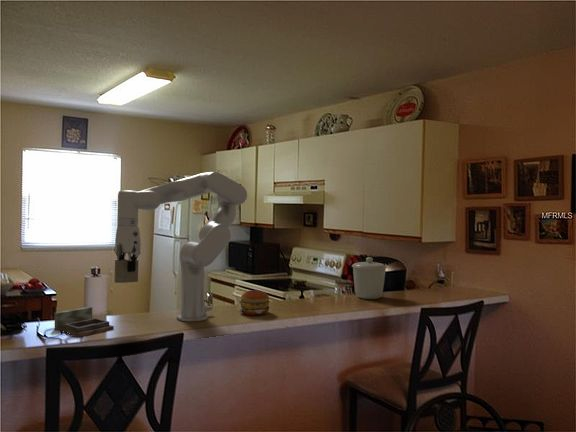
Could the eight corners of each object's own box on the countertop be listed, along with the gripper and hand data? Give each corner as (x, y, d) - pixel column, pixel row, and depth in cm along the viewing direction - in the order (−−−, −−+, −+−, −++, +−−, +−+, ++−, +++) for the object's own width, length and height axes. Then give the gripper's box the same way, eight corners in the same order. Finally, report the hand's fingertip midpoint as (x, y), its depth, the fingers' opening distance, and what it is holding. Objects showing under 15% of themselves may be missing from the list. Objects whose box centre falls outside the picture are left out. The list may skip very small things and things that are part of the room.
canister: (347, 294, 265) (348, 255, 264) (380, 294, 267) (381, 255, 266) (355, 301, 247) (356, 259, 246) (390, 301, 249) (392, 259, 248)
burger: (274, 315, 212) (274, 292, 212) (244, 318, 207) (244, 294, 207) (263, 309, 225) (264, 287, 224) (234, 311, 219) (235, 288, 219)
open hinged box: (89, 322, 194) (89, 306, 194) (113, 329, 185) (113, 312, 185) (54, 329, 183) (54, 312, 183) (78, 337, 173) (78, 319, 173)
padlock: (114, 281, 188) (115, 242, 188) (136, 280, 192) (137, 242, 192) (116, 283, 185) (116, 243, 184) (138, 282, 189) (139, 242, 188)
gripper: (150, 223, 186) (149, 272, 186) (122, 221, 196) (121, 267, 196) (133, 224, 180) (132, 274, 180) (105, 222, 190) (104, 269, 190)
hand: (126, 270), depth 188 cm, fingers closed on padlock, 5 cm apart
